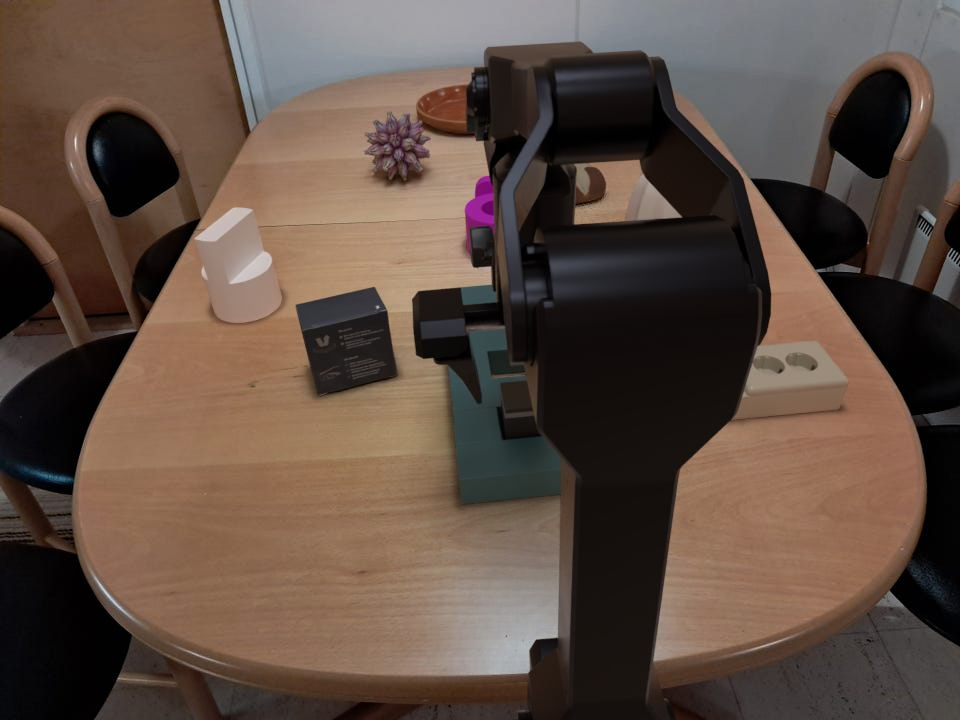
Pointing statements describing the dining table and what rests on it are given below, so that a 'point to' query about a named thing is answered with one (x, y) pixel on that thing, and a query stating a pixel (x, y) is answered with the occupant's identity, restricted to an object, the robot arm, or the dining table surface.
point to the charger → (517, 411)
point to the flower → (397, 145)
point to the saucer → (444, 109)
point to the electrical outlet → (792, 381)
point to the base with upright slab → (238, 268)
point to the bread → (589, 183)
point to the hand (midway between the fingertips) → (532, 395)
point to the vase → (648, 203)
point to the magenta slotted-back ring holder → (480, 207)
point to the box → (347, 340)
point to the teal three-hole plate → (495, 427)
